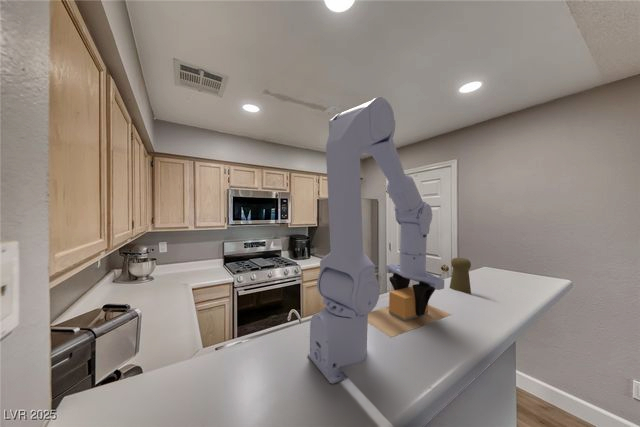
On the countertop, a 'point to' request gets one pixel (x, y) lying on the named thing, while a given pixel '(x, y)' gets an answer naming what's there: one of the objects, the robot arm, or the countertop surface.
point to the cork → (460, 275)
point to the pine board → (397, 326)
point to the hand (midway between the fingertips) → (411, 310)
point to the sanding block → (403, 304)
